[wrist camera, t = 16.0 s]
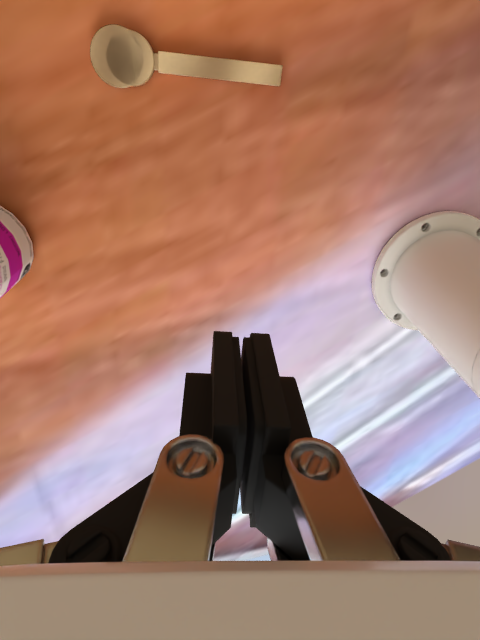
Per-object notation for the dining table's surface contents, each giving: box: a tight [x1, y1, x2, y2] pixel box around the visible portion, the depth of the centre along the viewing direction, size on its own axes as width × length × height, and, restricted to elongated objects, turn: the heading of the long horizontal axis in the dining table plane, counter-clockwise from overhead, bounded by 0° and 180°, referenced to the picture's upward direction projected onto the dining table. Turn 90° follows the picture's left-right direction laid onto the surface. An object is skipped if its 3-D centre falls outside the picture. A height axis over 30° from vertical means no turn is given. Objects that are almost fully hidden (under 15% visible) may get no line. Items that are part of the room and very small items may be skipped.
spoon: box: [90, 24, 282, 88], centre depth 31 cm, size 14×4×1 cm, turn 85°
